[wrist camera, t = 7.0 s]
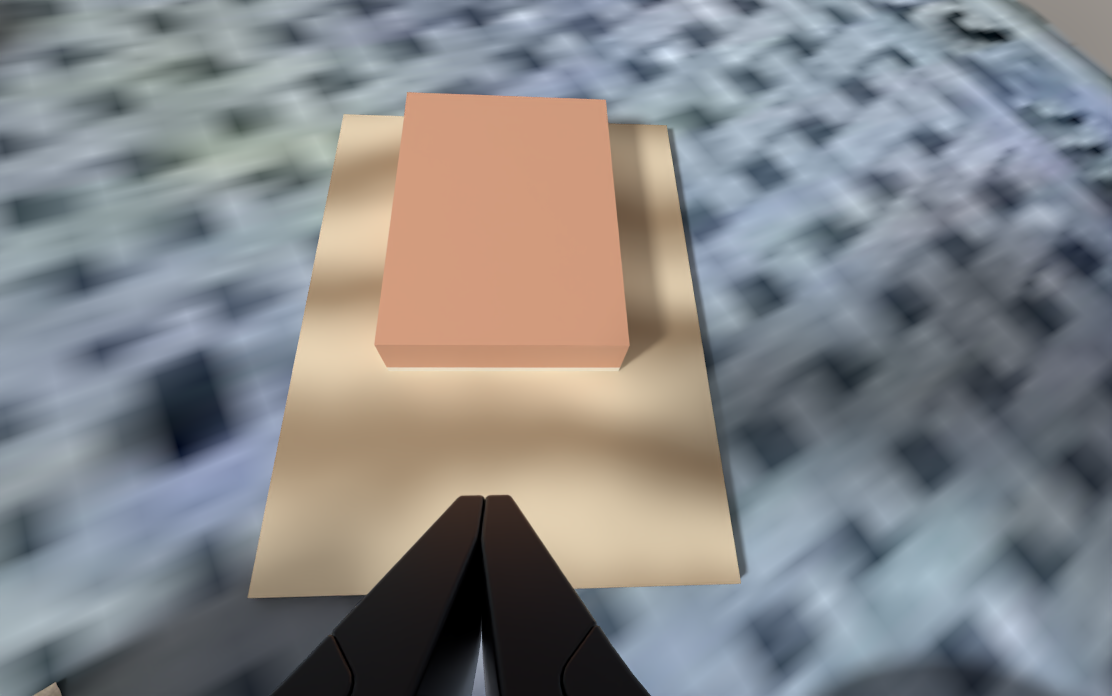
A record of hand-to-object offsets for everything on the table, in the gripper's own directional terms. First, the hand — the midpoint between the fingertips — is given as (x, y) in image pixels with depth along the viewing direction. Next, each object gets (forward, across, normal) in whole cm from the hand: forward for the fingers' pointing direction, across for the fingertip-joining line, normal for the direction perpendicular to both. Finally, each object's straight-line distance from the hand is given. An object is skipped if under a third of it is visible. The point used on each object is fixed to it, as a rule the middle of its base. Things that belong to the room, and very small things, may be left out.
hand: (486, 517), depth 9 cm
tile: (+13, 0, +2) cm, 13 cm away
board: (+17, 0, +1) cm, 17 cm away
